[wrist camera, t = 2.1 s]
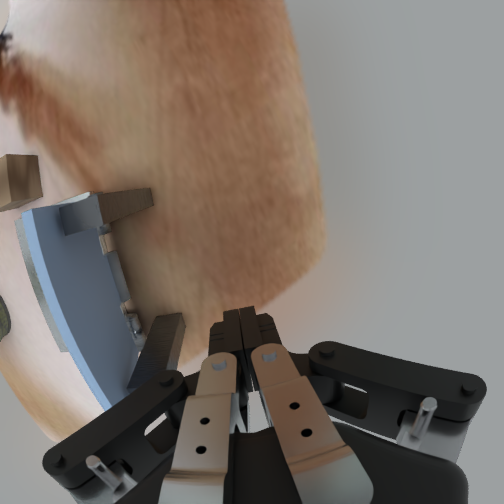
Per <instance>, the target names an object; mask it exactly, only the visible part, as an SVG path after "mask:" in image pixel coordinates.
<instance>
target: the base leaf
mask: <svg viewBox="0 0 504 504" xmlns="http://www.w3.org/2000/svg"><path fill="white" fill-rule="evenodd" d="M72 202H74V203H72ZM65 203H71V204H68V205H65V206H63V207H60V208H59V212H60V217H61V221H62V225H63V230H64V234H65V236H68V235H71V234H74V233H78V232H81V231H84V230H88V229H91V228H95V227H96V228H97V232H98V236H99V240H100V244H101V247H102V251H103V254H105V253H108V252H107V248H106V245H105V241H104V237H103V235H104V234H107V233H110V232H112V231H111V227H110V222H112V221H115V220H117V219H120V218H122V217H125V216H127V215H130V214H132V213H135V212H137V211H140V210H143V209H145V208H148V207H151V206H153V205H154V204H153V199H152V194H151V189H150V188H143V189H135V190H127V191H119V192H112V193H105V194H103V192H99V193H95V194H94V192H93V191H91V192H87V193H84V194H81V195H78V196H75V197H73V198H70V199H67V200H64V201H62V202H59V203H57V204H54V205H58V204H65ZM51 206H52V205H51ZM14 222H15V226H16V231H17V235H18V239H19V243H20V247H21V251H22V255H23V258H24V262H25V265H26V268H27V271H28V274H29V278H30V281H31V283H32V286H33V289H34V292H35V295H36V297H37V300H38V302H39V305H40V308H41V310H42V312H43V315H44V317H45V319H46V322H47V324H48V326H49V329H50V331H51V333H52V335H53V337H54V339H55V341H56V343H57V345H58V347H59V349H60V351H61V352H69V350H68V348H67V346H66V344H65V342H64V340H63V338H62V336H61V334H60V332H59V330H58V327H57V325H56V323H55V320H54V318H53V316H52V313H51V311H50V309H49V306H48V304H47V301H46V298H45V296H44V293H43V290H42V287H41V285H40V282H39V279H38V276H37V273H36V270H35V266H34V263H33V260H32V256H31V253H30V249H29V245H28V241H27V237H26V233H25V229H24V224H23V220H22V218H20V219H18V220H16V221H14ZM120 307H121V310H122V313H123V315H124V318H125V320H126V323H127V326H128V328H129V331H130V333H131V335H132V338H133V340H134V343H135V345H136V347H137V349H138V351H141V353H140V356H139V358H138V361H137V363H136V366H135V368H134V371H133V373H132V376H131V378H130V381H129V383H128V386H127V388H126V389H127V390H128V392H129V394H130V393H132V392H133V391H134V390H136V389H137V388H138V387H140V386H141V385H143V384H144V383H145V382H147V381H148V380H149V379H151V378H152V377H153V376H155V375H156V374H158V373H159V372H162V371H165V370H177V365H178V360H179V356H180V351H181V346H182V342H183V337H184V333H185V328H186V325H185V322H184V319H183V316H182V313H176V314H170V315H163V316H157V317H156V319H155V321H154V323H153V325H152V328H151V330H150V332H149V335H148V337H147V339H146V337H145V334H144V332H143V329H142V327H141V324H140V322H139V319H138V316H137V314H136V313H130V314H127V311H126V308H125V305H124V303H121V306H120Z"/></svg>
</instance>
